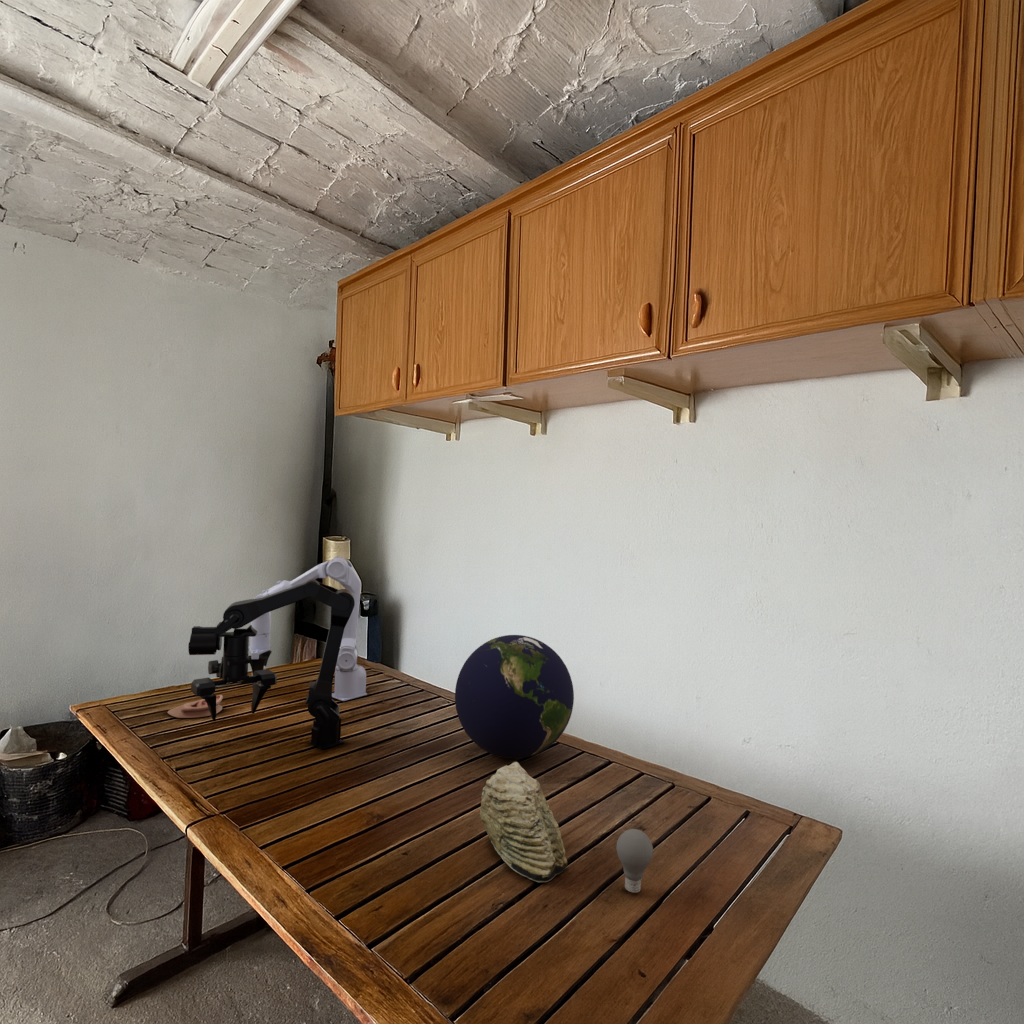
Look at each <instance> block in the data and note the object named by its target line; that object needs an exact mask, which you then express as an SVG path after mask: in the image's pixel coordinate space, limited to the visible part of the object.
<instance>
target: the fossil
mask: <svg viewBox="0 0 1024 1024" xmlns="http://www.w3.org/2000/svg"><path fill="white" fill-rule="evenodd" d="M479 819H480V820H481V822H482V823H483V827H484V829H485V832H486V833H487V836H488V838H489V840H490V842H491V844H492V845H493V848H494V850H495V852H496V853H497V854H498V856H500V858H501V859H502V861H503V862H504V863H505V864H506V865H507V867H509V868H510V869H511V870H513V871H514V873H517V874H519V875H520V876H522V877H525V878H527V879H528V880H531V881H533V882H536V883H548V882H550V881H552V880H553V879H554V878H555V877H556V876H557V875H560V874H561V873H563V872H564V871H565V870H566V868H567V867H568V866H569V863H568V859H567V856H566V848H565V847H564V841H563V838H562V834H561V831H560V826H559V824H558V822H557V821H556V818H555V817H554V813H553V811H552V810H551V807H550V805H549V803H548V802H547V799H546V796H545V794H544V790H543V789H542V786H541V784H540V781H539V780H537V779H535V778H533V777H532V776H531V775H529V773H528V772H527V771H526V769H524V768H523V766H521V764H520V763H519V762H518V761H513V762H512V763H511V764H509V765H507V764H506V765H504V766H502V767H500V768H498V769H497V770H496V772H495V773H494V774H492V775H491V776H490V778H489V779H487V780H486V782H485V786H483V788H482V792H481V802H480V808H479Z"/></svg>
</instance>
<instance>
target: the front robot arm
mask: <svg viewBox="0 0 1024 1024" xmlns="http://www.w3.org/2000/svg"><path fill="white" fill-rule="evenodd" d="M309 598H313V599H314V600H316V601H318V602H319V603H322V604H324V605H325V606H328V607H330V624H329V627H328V628H329V629H328V632H327V637H326V640H325V641H326V642H325V646H324V651H323V654H322V660H321V664H320V668H319V673H318V675H317V678H316V680H315V682H314V681H309V687H308V693H307V694H306V697H305V705H307V712H308V713H309V715H310V716H312V717H313V718H314V719H313V721H312V722H313V723H312V727H311V730H310V731H311V732H310V733H311V735H310V739H309V740H308V743H309V744H310V745H313V746H314V747H316V748H318V749H320V750H327V749H329V748H333V747H336V746H340V745H343V744H344V743H345V741H344V740H343V739H341V737H342V735H341V733H342V717H340V715H341V714H340V705H339V704H338V703H337V702H336V701H335V700H334V699H333V697H332V693H333V682H334V681H333V680H334V678H335V668H336V666H337V664H336V663H337V659H338V655H339V650H340V646H341V641H342V637H343V633H344V629H345V626H346V624H347V622H348V620H349V618H350V616H351V613H352V611H353V609H354V606H355V601H354V596H353V594H352V593H351V592H350V591H349V590H347V589H345V588H340V589H338V588H335V587H333V586H331V585H328V584H325V583H322V582H320V581H318V580H317V579H315V580H313V579H311V580H308V581H307V582H305V583H302V584H299V585H296V586H294V587H291V588H288V589H285V590H282V591H280V592H277V593H274V594H271V595H268V596H266V597H263V598H258V599H253V598H250V599H244V600H238V601H235V602H233V603H231V604H230V605H228V606H227V608H226V609H225V610H224V611H223V615H222V621H219V622H218V623H217V625H216V626H200V625H199V626H198V625H194V626H192V628H191V632H190V636H189V641H188V645H187V646H188V655H189V656H210V655H211V656H212V655H213V656H214V655H216V654H217V652H218V651H221V650H222V648H223V652H222V656H221V660H220V662H219V660H218V659H215V660H214V659H213V660H208V665H207V670H208V671H207V673H208V675H215V676H216V678H219V680H213V679H212V678H210V677H203V678H195V679H193V680H192V681H191V683H190V692H191V693H192V694H194V695H195V697H197V698H200V699H201V700H202V699H205V701H206V703H207V705H208V708H209V711H210V714H211V715H210V717H211V719H212V721H213V722H216V720H217V713H216V696H217V695H216V694H215V692H216V690H217V689H224V688H231V687H236V686H244V685H251V686H252V696H251V706H250V713H251V714H252V715H254V714H255V713H256V711H257V710H258V707H259V705H260V703H261V701H262V700H263V697H264V696H265V694H266V692H267V691H268V690H271V689H272V686H275V685H277V682H278V681H277V679H278V677H277V674H276V673H275V672H274V671H272V670H270V669H268V668H266V669H265V670H258V671H254V673H253V675H252V674H251V675H249V664H250V659H249V658H248V656H249V652H250V650H249V646H250V638H251V637H254V636H256V635H257V633H258V631H257V630H255V629H254V628H253V627H252V625H251V622H252V621H253V620H255V619H257V618H258V617H260V616H261V615H263V614H265V613H267V612H270V611H271V612H273V611H276V610H278V609H281V608H284V607H286V606H289V605H292V604H295V603H297V602H300V601H304V600H306V599H309ZM249 624H250V625H249ZM246 625H248V627H247V628H244V627H245V626H246ZM231 629H233V631H230V630H231ZM222 645H223V647H222Z"/></svg>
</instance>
